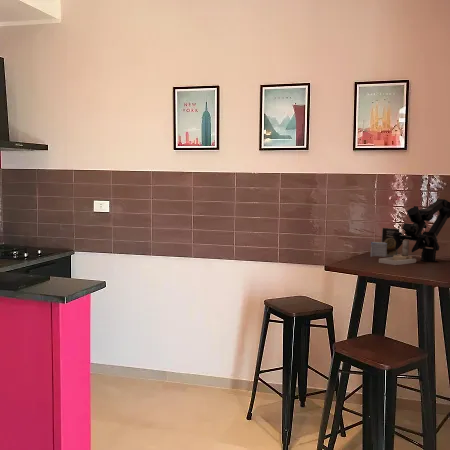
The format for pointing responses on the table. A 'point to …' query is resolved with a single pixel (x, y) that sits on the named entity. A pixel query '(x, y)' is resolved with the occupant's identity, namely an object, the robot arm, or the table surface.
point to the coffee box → (389, 241)
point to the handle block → (403, 252)
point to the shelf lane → (399, 262)
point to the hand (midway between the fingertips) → (403, 250)
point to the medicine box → (378, 249)
